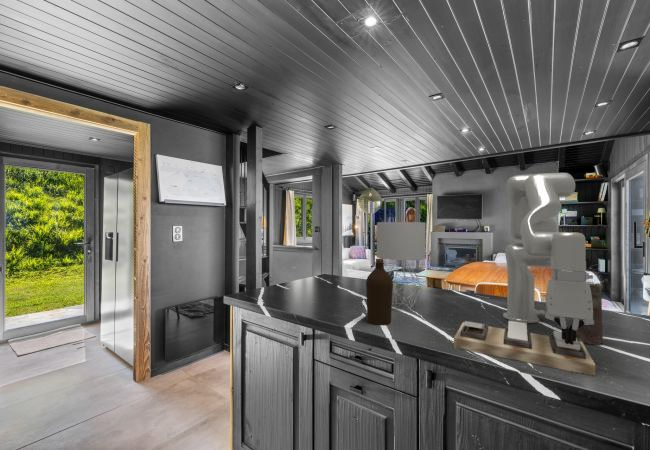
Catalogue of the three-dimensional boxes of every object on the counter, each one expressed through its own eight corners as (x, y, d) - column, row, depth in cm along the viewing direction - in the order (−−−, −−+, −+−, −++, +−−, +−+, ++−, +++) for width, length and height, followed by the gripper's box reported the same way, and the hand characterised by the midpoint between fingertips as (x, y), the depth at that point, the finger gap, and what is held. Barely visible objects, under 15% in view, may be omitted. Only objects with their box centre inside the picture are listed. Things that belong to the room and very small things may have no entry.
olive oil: (373, 327, 116) (374, 260, 116) (361, 318, 126) (361, 257, 126) (397, 324, 120) (398, 260, 120) (383, 316, 130) (384, 257, 130)
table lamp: (392, 298, 162) (393, 222, 162) (433, 306, 146) (434, 222, 147) (366, 306, 146) (367, 222, 146) (409, 316, 130) (410, 222, 131)
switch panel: (582, 351, 95) (582, 336, 95) (595, 376, 79) (595, 358, 79) (462, 330, 113) (463, 318, 113) (453, 347, 97) (454, 333, 97)
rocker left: (484, 328, 106) (484, 324, 106) (481, 328, 97) (482, 323, 97) (468, 326, 108) (469, 321, 109) (464, 325, 99) (464, 321, 100)
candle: (567, 337, 107) (568, 279, 107) (587, 336, 108) (587, 279, 108) (588, 345, 100) (588, 284, 100) (609, 345, 100) (609, 283, 100)
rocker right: (573, 338, 93) (573, 333, 93) (580, 350, 84) (580, 345, 84) (553, 335, 96) (553, 330, 96) (557, 346, 87) (557, 341, 87)
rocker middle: (526, 327, 99) (526, 323, 99) (527, 345, 90) (527, 340, 90) (508, 324, 102) (508, 320, 102) (507, 341, 93) (507, 337, 93)
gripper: (600, 277, 85) (601, 344, 85) (535, 273, 93) (535, 334, 93) (607, 280, 79) (608, 353, 78) (536, 275, 87) (536, 341, 86)
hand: (568, 342), depth 85 cm, fingers closed
